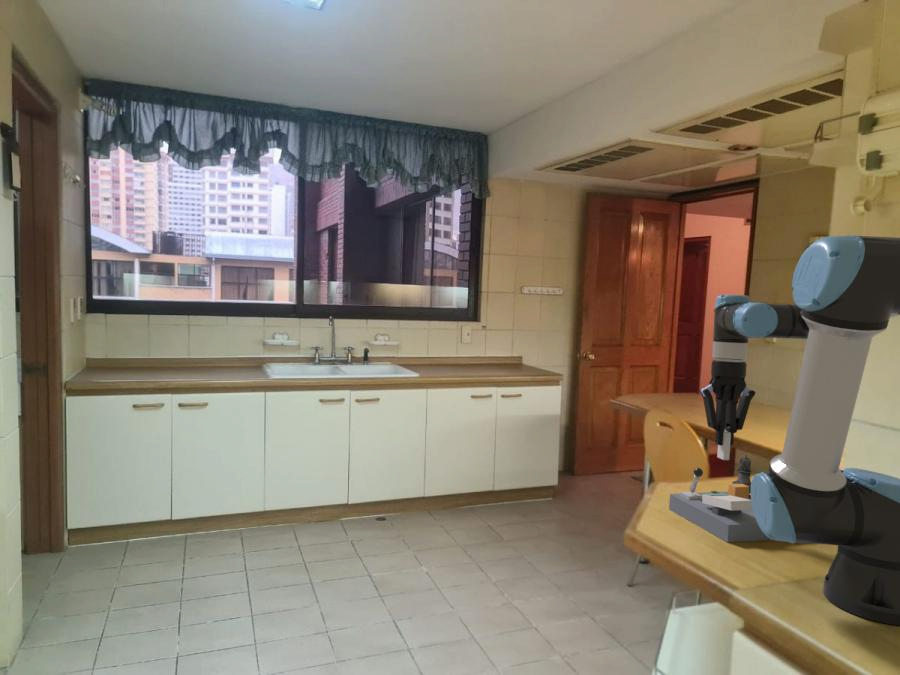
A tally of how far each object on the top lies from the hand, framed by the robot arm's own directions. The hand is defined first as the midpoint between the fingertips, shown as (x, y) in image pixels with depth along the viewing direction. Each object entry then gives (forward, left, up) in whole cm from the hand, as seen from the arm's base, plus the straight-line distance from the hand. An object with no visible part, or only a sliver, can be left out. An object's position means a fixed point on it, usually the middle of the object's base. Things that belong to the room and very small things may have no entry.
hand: (723, 458), depth 143 cm
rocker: (-3, +1, -10) cm, 10 cm away
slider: (+3, -7, -12) cm, 15 cm away
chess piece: (+19, -22, -16) cm, 34 cm away
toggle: (+9, +2, -11) cm, 15 cm away
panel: (+1, -3, -16) cm, 17 cm away
